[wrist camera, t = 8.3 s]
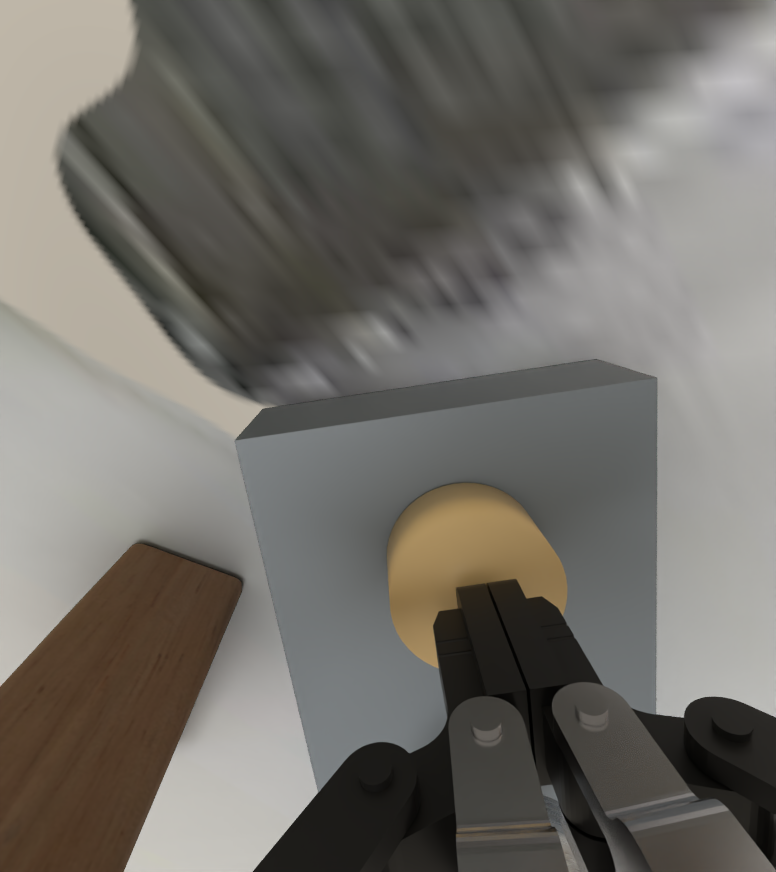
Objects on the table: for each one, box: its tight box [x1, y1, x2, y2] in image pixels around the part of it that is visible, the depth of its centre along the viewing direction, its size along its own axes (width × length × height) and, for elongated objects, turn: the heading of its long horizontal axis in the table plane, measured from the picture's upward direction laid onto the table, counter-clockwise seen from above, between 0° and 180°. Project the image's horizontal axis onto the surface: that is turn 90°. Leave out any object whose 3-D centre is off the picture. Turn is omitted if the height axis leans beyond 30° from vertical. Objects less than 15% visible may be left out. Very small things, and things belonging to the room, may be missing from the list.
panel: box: [235, 359, 657, 801], centre depth 20 cm, size 12×26×4 cm, turn 8°
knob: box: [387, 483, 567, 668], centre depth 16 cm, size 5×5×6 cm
